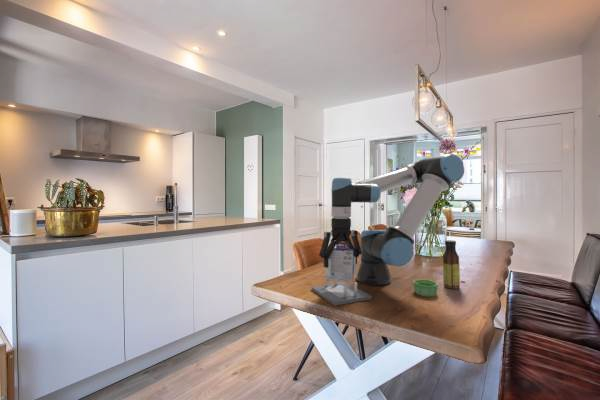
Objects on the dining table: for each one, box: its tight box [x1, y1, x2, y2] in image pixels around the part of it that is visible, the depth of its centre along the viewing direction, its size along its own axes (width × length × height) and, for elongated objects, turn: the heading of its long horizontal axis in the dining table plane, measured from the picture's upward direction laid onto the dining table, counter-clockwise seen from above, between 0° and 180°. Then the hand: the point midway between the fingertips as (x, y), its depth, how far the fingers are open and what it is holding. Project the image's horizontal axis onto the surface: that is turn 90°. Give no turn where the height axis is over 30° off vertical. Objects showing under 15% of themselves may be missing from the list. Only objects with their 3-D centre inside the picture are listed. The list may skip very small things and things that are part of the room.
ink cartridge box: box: [328, 241, 354, 283], centre depth 111 cm, size 10×6×14 cm, turn 78°
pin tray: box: [311, 275, 373, 306], centre depth 111 cm, size 16×18×6 cm
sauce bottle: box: [442, 239, 461, 290], centre depth 121 cm, size 7×6×20 cm
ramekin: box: [412, 278, 439, 298], centre depth 113 cm, size 9×9×4 cm
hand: (340, 274), depth 111 cm, fingers closed on ink cartridge box, 11 cm apart
